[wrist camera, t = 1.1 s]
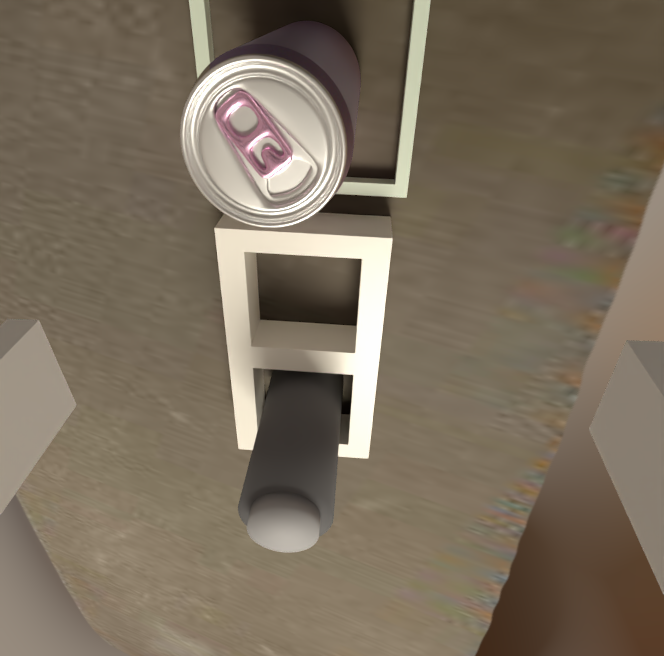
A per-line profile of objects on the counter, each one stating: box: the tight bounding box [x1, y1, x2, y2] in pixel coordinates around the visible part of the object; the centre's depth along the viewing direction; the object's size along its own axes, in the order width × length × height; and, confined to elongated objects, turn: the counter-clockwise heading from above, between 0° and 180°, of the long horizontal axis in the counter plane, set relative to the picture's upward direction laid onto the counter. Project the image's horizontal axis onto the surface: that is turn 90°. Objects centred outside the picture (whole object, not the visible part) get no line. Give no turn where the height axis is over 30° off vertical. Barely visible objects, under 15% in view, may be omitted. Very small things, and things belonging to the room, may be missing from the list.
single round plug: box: [238, 369, 343, 552], centre depth 36 cm, size 6×6×14 cm
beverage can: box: [180, 21, 361, 228], centre depth 23 cm, size 6×6×15 cm
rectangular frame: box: [189, 0, 431, 198], centre depth 28 cm, size 13×13×1 cm
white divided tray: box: [214, 212, 392, 458], centre depth 38 cm, size 20×11×4 cm, turn 178°
